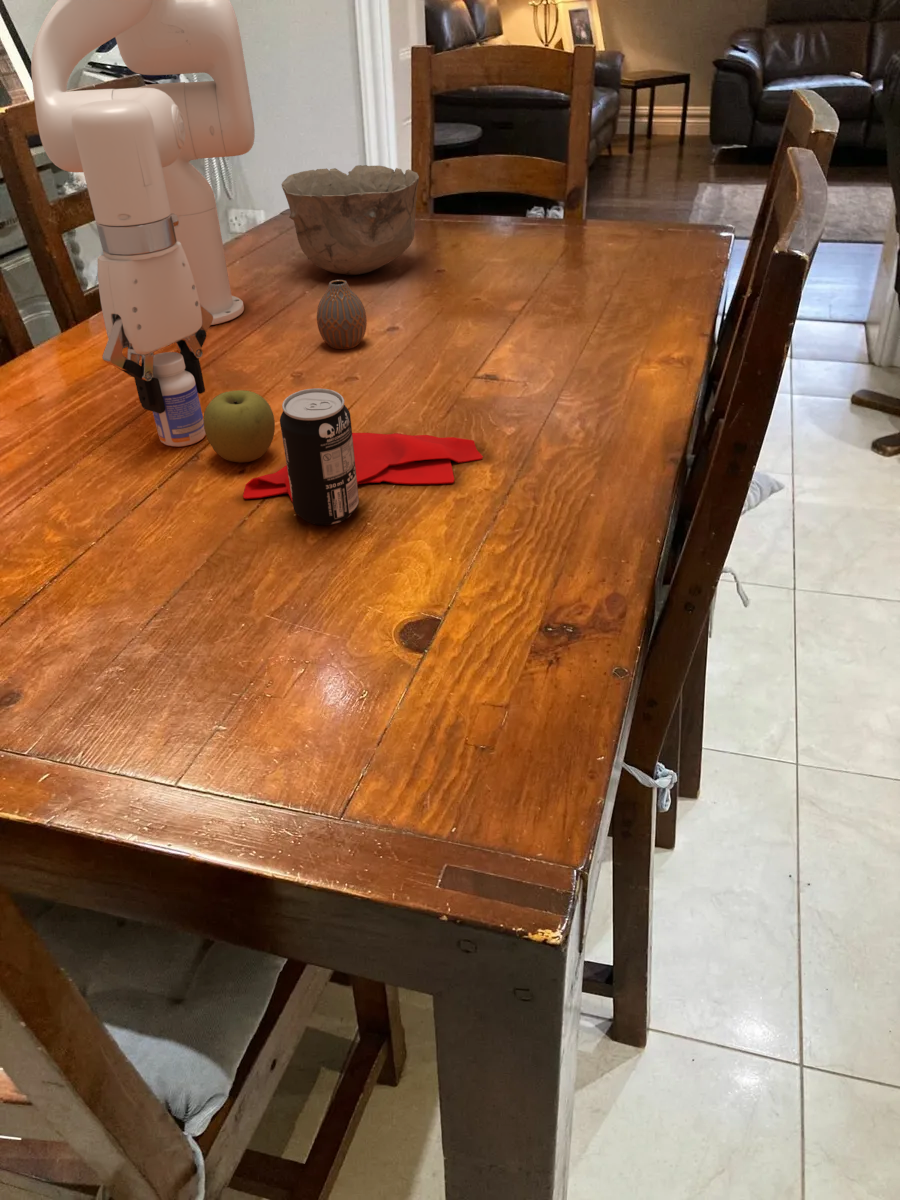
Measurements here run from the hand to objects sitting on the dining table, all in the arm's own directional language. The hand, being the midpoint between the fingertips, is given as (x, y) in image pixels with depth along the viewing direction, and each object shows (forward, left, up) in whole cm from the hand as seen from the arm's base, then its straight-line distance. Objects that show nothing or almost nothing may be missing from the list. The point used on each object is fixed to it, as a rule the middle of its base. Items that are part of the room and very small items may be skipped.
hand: (174, 398), depth 107 cm
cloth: (+23, +5, -5) cm, 24 cm away
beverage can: (+26, -5, -5) cm, 27 cm away
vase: (-2, +33, -5) cm, 33 cm away
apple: (+10, 0, -5) cm, 11 cm away
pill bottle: (0, 0, -5) cm, 5 cm away
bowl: (-22, +62, -5) cm, 66 cm away
